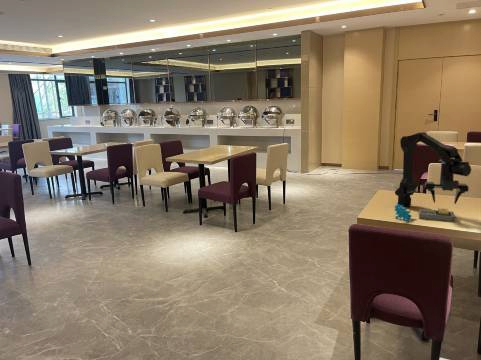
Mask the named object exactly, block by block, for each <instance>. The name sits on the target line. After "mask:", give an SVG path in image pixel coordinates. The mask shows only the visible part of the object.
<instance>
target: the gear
mask: <svg viewBox="0 0 481 360" xmlns="http://www.w3.org/2000/svg"><path fill="white" fill-rule="evenodd" d="M393 211H395V215H396V216H395V219H397V220H398V219H400V220H401V219H402V221H403V222H410V221H411V220H412V215H411V214H410V213H411V210H410V209H409V210H408V207H403V205H400V204H397V203H396V205H395V206H394V210H393Z"/></svg>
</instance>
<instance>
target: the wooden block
mask: <svg viewBox="0 0 481 360" xmlns="http://www.w3.org/2000/svg"><path fill="white" fill-rule="evenodd" d="M437 210H438V213H437V215H447V216H449V211H450V210H449V208H440V207H438V208H437Z"/></svg>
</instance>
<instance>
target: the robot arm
mask: <svg viewBox="0 0 481 360" xmlns="http://www.w3.org/2000/svg"><path fill="white" fill-rule="evenodd" d="M399 142H400V149H401V151H402V152H403V165H402V168H403V170H402V179H401V180H400V182H399V187H398V188H397V189H396V190H395V191H394V195H395V196H397V203H396V205H397V204H400V205H403V207H402V208H405V207H406V208H411V205H412V197H411V196H413V195H414V193H415V192H416V191H417V189H418V187H417V184H418V182H417V180H415V179H414V178H413V177H414V152H415V150H416V149H417V147H418V143H422V144H424V145H426V146H427V147H429V148H430V149H432V150H433V151H435V152H436V154H437V156H438V157H439V158H440V159H439V160H438V161H437V163H438V164H440V165H441V166H440V175H439V177H440V179H439V183H435V182H434V181H425V182H424V189H425V190H427V191H428V192H430V194H431V197H432V200H433V203H436V191H435V190H436V189H441V190H442V191H450V192H452V191H453V192H454V190H455V196H454V205H456V204H457V202H458V200H459V198H460V197H461V195H462V194H465V193H468V192H469V190H470V189H469V188H470V187H469V186H468V184H467V183H461V182H460V181H459V180H454V176H455V175H456V176H463V177H469V175H470V174H471V172H472V168H471V167H472V166H471V164H470V162H469V161H463V159H462V157H461V155H460V154H459V149H457V147H455V146H453V145H448V144H445V143H442V142H441V141H439V140H438V139H436V138H434V137H432V136H431V135H429V134H427V133H426V132H425V131H424V132H423V131H422V132H417V133H414V134H411V135H406V136H405V135H404V136H402V137H401V138H400V139H399ZM459 182H460V183H459Z"/></svg>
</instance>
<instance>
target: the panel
mask: <svg viewBox="0 0 481 360" xmlns="http://www.w3.org/2000/svg"><path fill="white" fill-rule="evenodd" d="M437 213H438V209H436V210H435V209H423V208H422V209H421V208H418V219H420V220H428V221H429V220H431V221H441V222H442V221H444V222H454V223H456V219H457V218H456V215H455V212H454V211H450V210H449V216H447V215H437Z"/></svg>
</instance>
